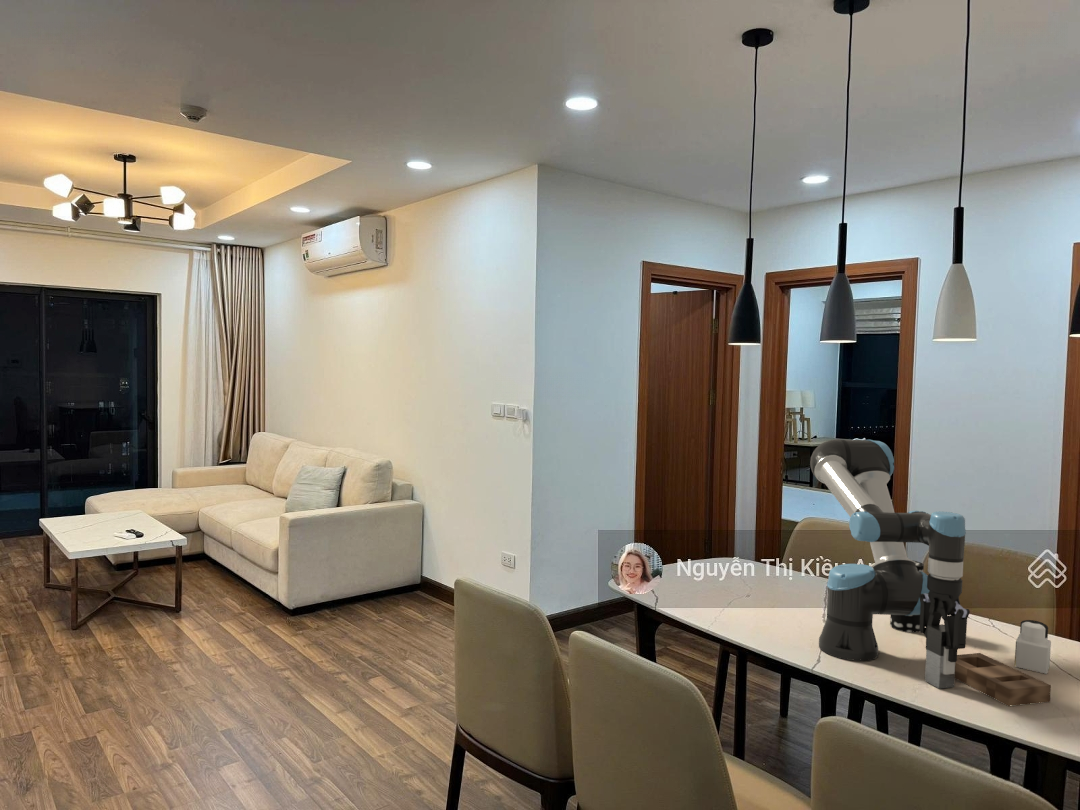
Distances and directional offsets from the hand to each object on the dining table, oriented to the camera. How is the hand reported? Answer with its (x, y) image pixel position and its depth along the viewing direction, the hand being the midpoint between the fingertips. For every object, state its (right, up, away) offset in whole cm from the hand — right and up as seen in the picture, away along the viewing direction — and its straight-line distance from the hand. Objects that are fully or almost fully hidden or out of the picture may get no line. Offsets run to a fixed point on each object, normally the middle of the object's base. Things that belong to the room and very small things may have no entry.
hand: (940, 669), depth 178 cm
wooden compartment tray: (+13, -4, 0) cm, 14 cm away
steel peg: (0, -4, 0) cm, 4 cm away
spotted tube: (+12, -3, +41) cm, 43 cm away
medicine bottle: (+32, -4, +13) cm, 35 cm away
